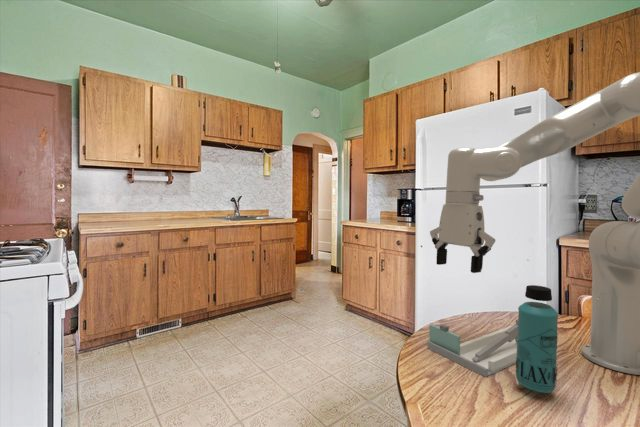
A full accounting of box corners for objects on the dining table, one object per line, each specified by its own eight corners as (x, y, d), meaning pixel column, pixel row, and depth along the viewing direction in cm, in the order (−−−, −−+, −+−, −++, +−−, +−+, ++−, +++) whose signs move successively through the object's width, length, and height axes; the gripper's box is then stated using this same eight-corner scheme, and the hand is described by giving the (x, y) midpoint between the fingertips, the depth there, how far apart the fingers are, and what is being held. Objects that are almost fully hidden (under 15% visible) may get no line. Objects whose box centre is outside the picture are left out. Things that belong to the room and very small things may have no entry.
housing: (549, 347, 78) (550, 337, 78) (485, 377, 64) (486, 365, 64) (490, 327, 91) (490, 318, 91) (427, 348, 77) (427, 338, 77)
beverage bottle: (507, 385, 61) (509, 284, 61) (529, 378, 64) (531, 281, 63) (542, 405, 55) (545, 293, 55) (565, 396, 58) (568, 289, 57)
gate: (460, 357, 72) (460, 331, 72) (457, 358, 71) (457, 332, 71) (432, 343, 79) (432, 320, 79) (428, 344, 78) (429, 320, 78)
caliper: (520, 340, 80) (520, 316, 80) (525, 342, 79) (525, 317, 79) (471, 361, 70) (472, 333, 70) (476, 363, 69) (476, 335, 69)
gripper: (505, 200, 72) (501, 274, 73) (442, 199, 87) (438, 260, 88) (486, 199, 68) (481, 277, 69) (423, 198, 83) (420, 262, 84)
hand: (457, 268), depth 78 cm, fingers open, 9 cm apart
